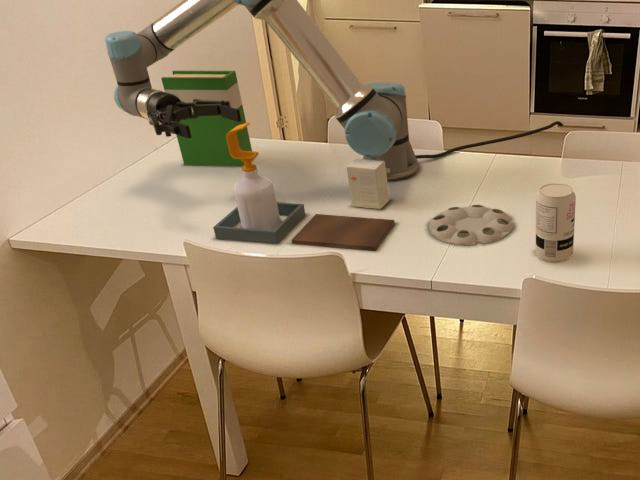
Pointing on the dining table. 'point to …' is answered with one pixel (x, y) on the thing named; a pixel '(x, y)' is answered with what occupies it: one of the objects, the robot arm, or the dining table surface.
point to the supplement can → (555, 222)
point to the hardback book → (208, 130)
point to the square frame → (257, 235)
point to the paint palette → (470, 225)
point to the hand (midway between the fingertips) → (214, 123)
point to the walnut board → (344, 232)
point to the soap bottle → (253, 189)
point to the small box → (368, 183)
